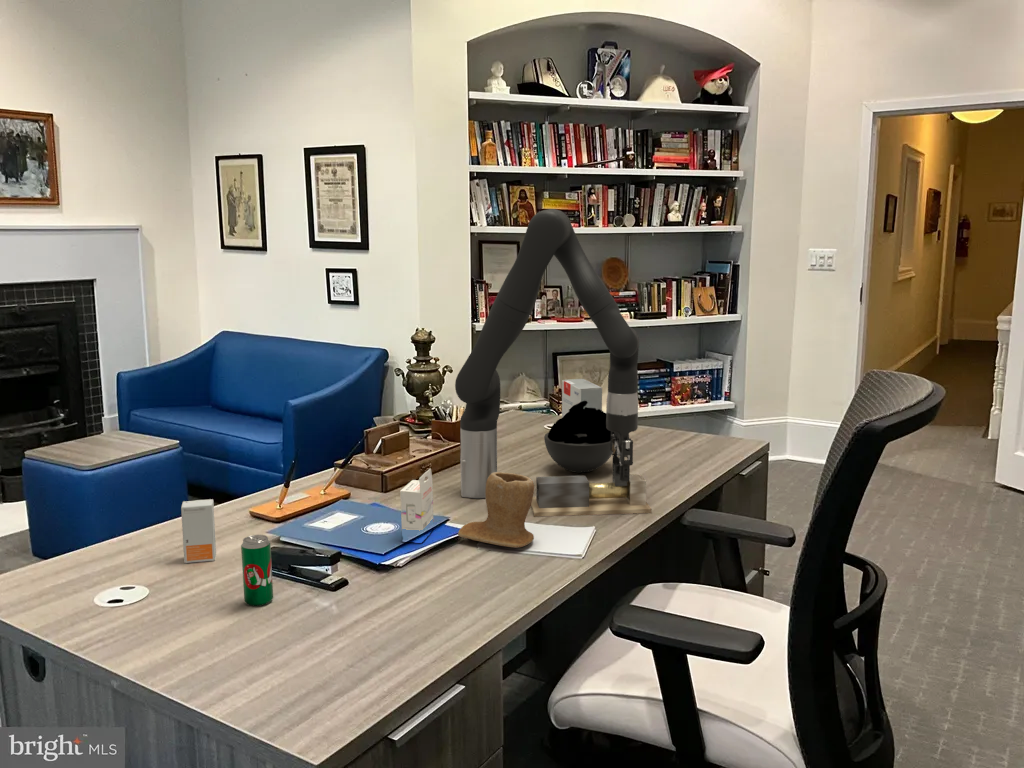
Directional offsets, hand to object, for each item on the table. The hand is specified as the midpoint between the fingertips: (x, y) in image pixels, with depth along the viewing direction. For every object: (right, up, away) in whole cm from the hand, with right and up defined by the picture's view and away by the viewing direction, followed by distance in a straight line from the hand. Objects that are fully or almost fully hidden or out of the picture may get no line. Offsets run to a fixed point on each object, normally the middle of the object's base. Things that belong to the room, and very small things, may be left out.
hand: (620, 475), depth 208 cm
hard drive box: (-5, +3, +59) cm, 60 cm away
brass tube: (-4, -6, +1) cm, 7 cm away
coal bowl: (-7, -2, +31) cm, 32 cm away
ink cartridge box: (-47, -12, -19) cm, 52 cm away
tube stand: (-8, -8, +1) cm, 11 cm away
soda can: (-72, -17, -52) cm, 91 cm away
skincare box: (-90, -14, -32) cm, 97 cm away
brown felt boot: (-29, -12, -22) cm, 38 cm away
